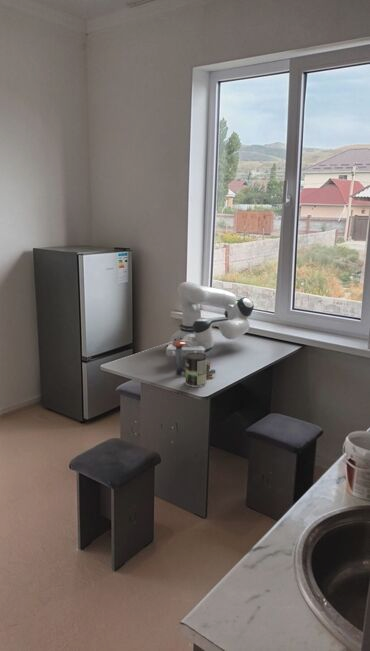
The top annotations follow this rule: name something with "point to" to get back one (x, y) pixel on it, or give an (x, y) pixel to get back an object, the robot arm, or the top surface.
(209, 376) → the eye post
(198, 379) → the coffee can
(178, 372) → the hook rod
